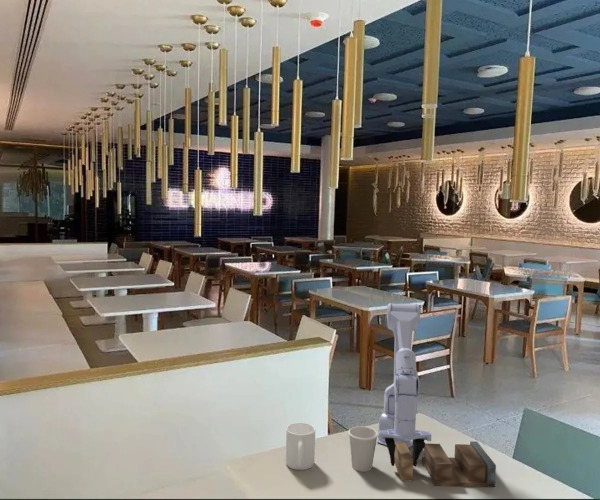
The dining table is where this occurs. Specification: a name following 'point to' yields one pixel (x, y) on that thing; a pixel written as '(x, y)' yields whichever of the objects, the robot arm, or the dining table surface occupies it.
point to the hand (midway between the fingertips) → (403, 464)
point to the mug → (300, 446)
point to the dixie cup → (362, 447)
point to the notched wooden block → (459, 466)
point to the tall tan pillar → (403, 461)
